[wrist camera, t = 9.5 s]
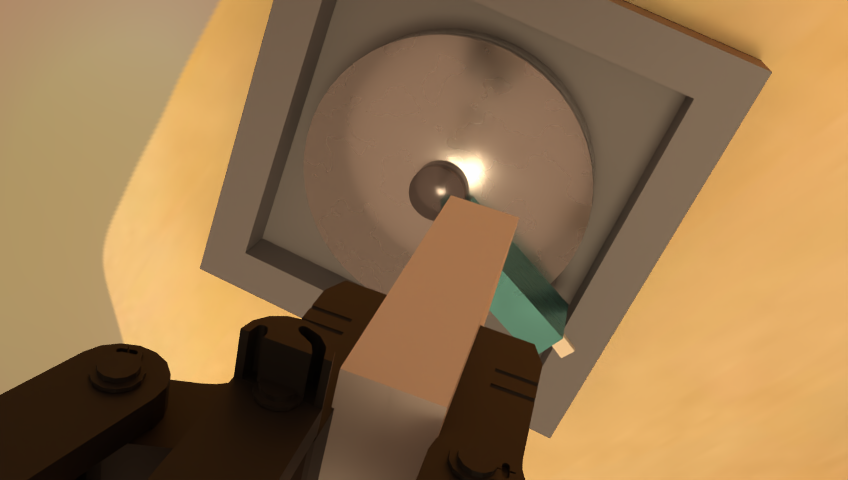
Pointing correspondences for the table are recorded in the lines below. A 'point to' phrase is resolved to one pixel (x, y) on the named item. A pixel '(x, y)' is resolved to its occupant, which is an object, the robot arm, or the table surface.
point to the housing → (594, 95)
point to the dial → (453, 164)
